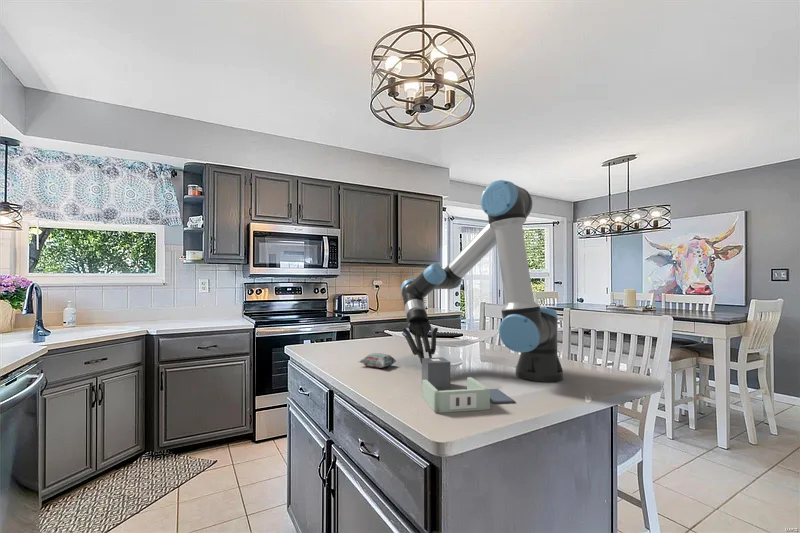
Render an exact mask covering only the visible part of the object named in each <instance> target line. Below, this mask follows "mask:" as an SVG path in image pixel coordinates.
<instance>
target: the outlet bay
mask: <svg viewBox="0 0 800 533" xmlns="http://www.w3.org/2000/svg"><path fill="white" fill-rule="evenodd" d="M466 384H467V385H466V387H467V388H466V389H445V390H439V389H436V388H435V387H434V386H433V385H432V384H431V383H430V382H428V381H427V380H422V379H421V389H422V390H421V393H422V394H421V397H422V398H421V399H423V401H424V402H425V404H427V405H428V406H429V407H430V409H431V410H432V411H433V412H434V413H435V414H440V413H441V414H443V413H457V412H469V411H471V412H473V411H483V410H490V409H491V401H490V389H491V388H489V387H487V386H485V385H484V384H483V383H481V382H480V381H478V380H476V379H475V378H473V377H471V376H469V377H468V376H467V380H466Z"/></svg>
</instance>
